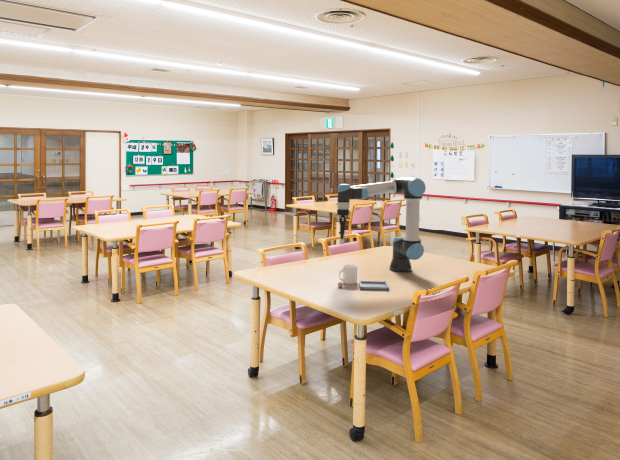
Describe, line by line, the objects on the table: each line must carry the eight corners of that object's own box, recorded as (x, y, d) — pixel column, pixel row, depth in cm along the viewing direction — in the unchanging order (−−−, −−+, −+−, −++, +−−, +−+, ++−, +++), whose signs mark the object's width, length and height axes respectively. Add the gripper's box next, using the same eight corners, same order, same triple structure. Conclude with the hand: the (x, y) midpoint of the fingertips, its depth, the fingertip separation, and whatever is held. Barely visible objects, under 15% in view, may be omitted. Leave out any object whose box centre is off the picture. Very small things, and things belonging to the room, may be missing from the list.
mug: (335, 282, 304) (336, 265, 303) (352, 280, 309) (353, 263, 307) (341, 285, 297) (342, 268, 295) (359, 283, 301) (359, 266, 300)
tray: (386, 284, 301) (386, 281, 301) (388, 290, 287) (389, 287, 287) (358, 283, 302) (358, 280, 301) (360, 289, 288) (360, 286, 288)
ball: (343, 286, 294) (343, 281, 293) (343, 288, 291) (343, 282, 290) (337, 286, 294) (337, 281, 293) (337, 288, 291) (337, 282, 290)
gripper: (337, 206, 318) (336, 238, 321) (336, 210, 293) (335, 245, 296) (349, 207, 317) (348, 239, 320) (349, 211, 293) (347, 245, 296)
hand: (341, 242), depth 308 cm, fingers open, 13 cm apart
